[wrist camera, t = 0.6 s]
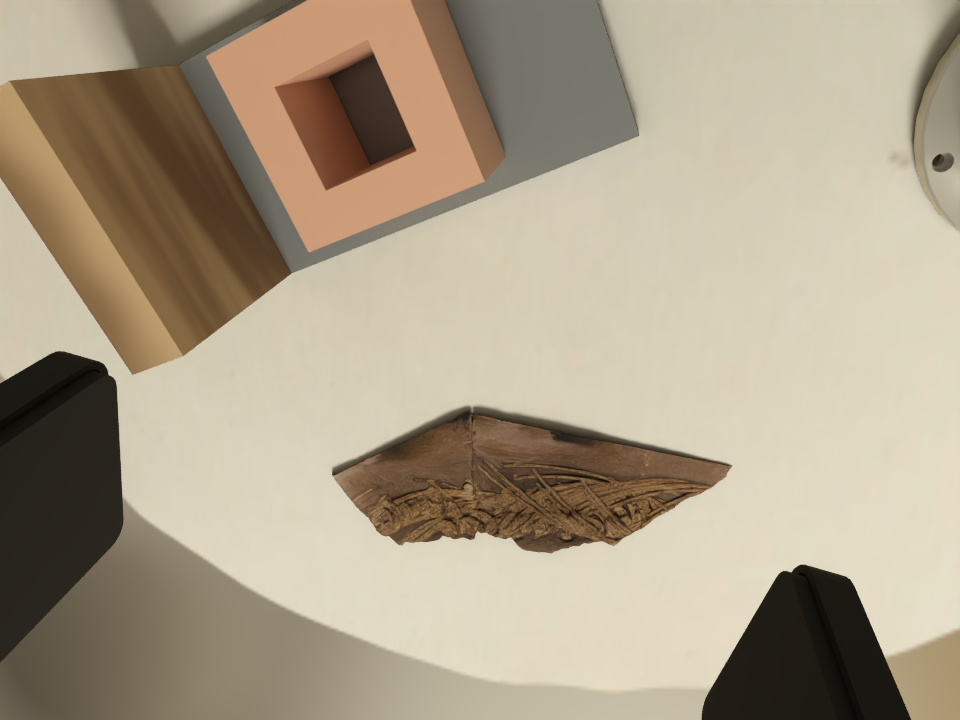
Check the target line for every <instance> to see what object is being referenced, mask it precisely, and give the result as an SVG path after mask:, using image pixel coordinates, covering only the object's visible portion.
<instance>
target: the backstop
mask: <svg viewBox="0 0 960 720" xmlns="http://www.w3.org/2000/svg"><path fill="white" fill-rule="evenodd" d="M0 178H1V179H2V181H3V182H4V184H5V185H6V187H7V188H8V190H9V191H10V193H11V194H12V196H13V197H14V199H15V200H16V202H17V203H18V205H19V206H20V208H21V209H22V211H23V212H24V214H25V215H26V217H27V218H28V220H29V221H30V222H31V224H32V225H33V227H34V228H35V230H36V231H37V233H38V234H39V236H40V237H41V239H42V240H43V242H44V243H45V245H46V246H47V248H48V249H49V251H50V252H51V254H52V255H53V257H54V258H55V260H56V261H57V263H58V264H59V266H60V267H61V269H62V270H63V272H64V273H65V275H66V276H67V278H68V279H69V281H70V282H71V284H72V285H73V287H74V288H75V290H76V291H77V293H78V294H79V296H80V297H81V299H82V300H83V302H84V303H85V305H86V306H87V308H88V309H89V311H90V312H91V314H92V315H93V316H94V318H95V319H96V321H97V322H98V324H99V325H100V327H101V328H102V330H103V331H104V333H105V334H106V336H107V337H108V339H109V340H110V342H111V343H112V345H113V346H114V348H115V349H116V351H117V352H118V354H119V355H120V357H121V358H122V360H123V361H124V363H125V364H126V366H127V367H128V369H129V370H130V372H131V373H132V375H133V374H136V373H139V372H141V371H144V370H147V369H150V368H152V367H155V366H158V365H160V364H163V363H166V362H168V361H171V360H174V359H177V358H179V357H182V356H184V355H185V354H187V353H188V352H189V351H190V350H192V349H193V348H194V347H196V346H197V345H198V344H200V343H201V342H202V341H204V340H205V339H206V338H207V337H209V336H210V335H211V334H213V333H214V332H215V331H217V330H218V329H219V328H221V327H222V326H223V325H225V324H226V323H227V322H228V321H230V320H231V319H232V318H234V317H235V316H236V315H238V314H239V313H240V312H242V311H243V310H244V309H246V308H247V307H248V306H249V305H251V304H252V303H253V302H255V301H256V300H257V299H259V298H260V297H261V296H263V295H264V294H265V293H266V292H268V291H269V290H270V289H272V288H273V287H274V286H276V285H277V284H278V283H280V282H281V281H282V280H284V279H285V278H286V277H287V276H289V275H290V274H291V271H290V269H289V268H288V266H287V264H286V262H285V260H284V258H283V256H282V255H281V253H280V251H279V249H278V247H277V245H276V243H275V242H274V240H273V238H272V236H271V234H270V232H269V231H268V229H267V227H266V225H265V223H264V221H263V219H262V218H261V216H260V214H259V212H258V210H257V208H256V206H255V205H254V203H253V201H252V199H251V197H250V195H249V194H248V192H247V190H246V188H245V186H244V184H243V182H242V181H241V179H240V177H239V175H238V173H237V171H236V170H235V168H234V166H233V164H232V162H231V160H230V158H229V157H228V155H227V153H226V151H225V149H224V147H223V145H222V144H221V142H220V140H219V138H218V136H217V134H216V133H215V131H214V129H213V127H212V125H211V123H210V121H209V120H208V118H207V116H206V114H205V112H204V110H203V108H202V107H201V105H200V103H199V101H198V99H197V97H196V96H195V94H194V92H193V90H192V88H191V86H190V84H189V83H188V81H187V79H186V77H185V75H184V73H183V72H182V70H181V68H180V66H179V65H170V66H159V67H149V68H138V69H128V70H118V71H107V72H97V73H86V74H76V75H65V76H55V77H45V78H34V79H24V80H13V81H8V82H7V83H5V84H3V85H2V86H0Z"/></svg>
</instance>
